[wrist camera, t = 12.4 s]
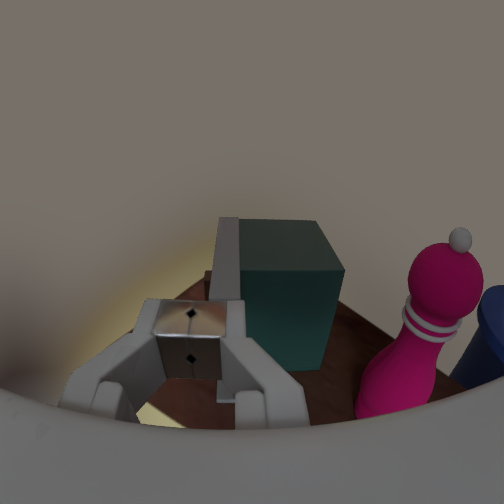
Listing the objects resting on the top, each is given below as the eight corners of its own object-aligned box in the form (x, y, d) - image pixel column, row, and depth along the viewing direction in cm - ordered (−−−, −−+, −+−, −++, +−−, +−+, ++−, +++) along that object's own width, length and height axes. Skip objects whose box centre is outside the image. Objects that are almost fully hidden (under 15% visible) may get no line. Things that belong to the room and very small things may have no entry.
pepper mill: (392, 450, 21) (508, 267, 11) (335, 413, 25) (402, 221, 16) (421, 403, 25) (507, 234, 16) (371, 373, 30) (430, 202, 20)
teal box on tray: (302, 309, 40) (315, 218, 34) (327, 398, 27) (361, 295, 21) (221, 309, 40) (219, 216, 34) (216, 402, 27) (208, 297, 20)
